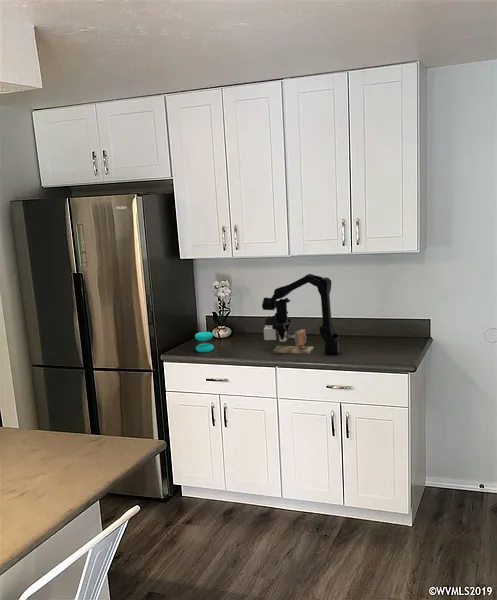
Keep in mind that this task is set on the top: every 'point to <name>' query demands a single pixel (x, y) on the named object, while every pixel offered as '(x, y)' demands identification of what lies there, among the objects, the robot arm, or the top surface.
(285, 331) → the shaft
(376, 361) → the top surface
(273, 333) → the medicine bottle
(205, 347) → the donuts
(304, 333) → the spacer
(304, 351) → the bracket
